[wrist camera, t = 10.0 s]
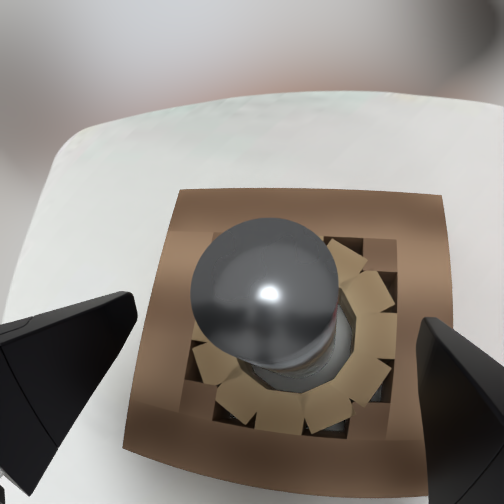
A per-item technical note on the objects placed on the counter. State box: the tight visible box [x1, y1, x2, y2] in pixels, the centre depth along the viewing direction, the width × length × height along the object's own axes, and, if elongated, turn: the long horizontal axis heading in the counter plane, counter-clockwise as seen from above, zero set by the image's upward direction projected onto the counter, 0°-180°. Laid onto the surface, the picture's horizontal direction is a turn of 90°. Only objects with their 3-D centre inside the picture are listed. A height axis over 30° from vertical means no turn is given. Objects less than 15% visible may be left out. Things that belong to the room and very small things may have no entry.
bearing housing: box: [122, 188, 453, 498], centre depth 16 cm, size 16×16×3 cm
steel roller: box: [190, 218, 339, 378], centre depth 13 cm, size 4×4×10 cm
